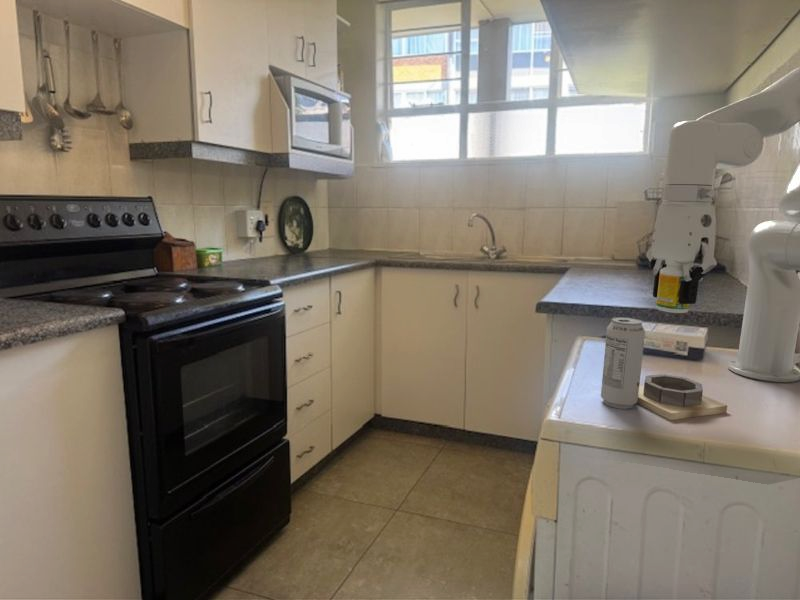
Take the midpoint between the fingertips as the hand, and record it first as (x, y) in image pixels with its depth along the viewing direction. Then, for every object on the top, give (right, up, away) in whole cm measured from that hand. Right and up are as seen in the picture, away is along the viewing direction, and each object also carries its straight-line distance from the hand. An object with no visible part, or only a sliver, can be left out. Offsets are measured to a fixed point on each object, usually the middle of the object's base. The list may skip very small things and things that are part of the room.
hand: (673, 299), depth 96 cm
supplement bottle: (0, -2, 0) cm, 2 cm away
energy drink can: (-10, -19, -1) cm, 21 cm away
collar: (-1, -18, -1) cm, 18 cm away
